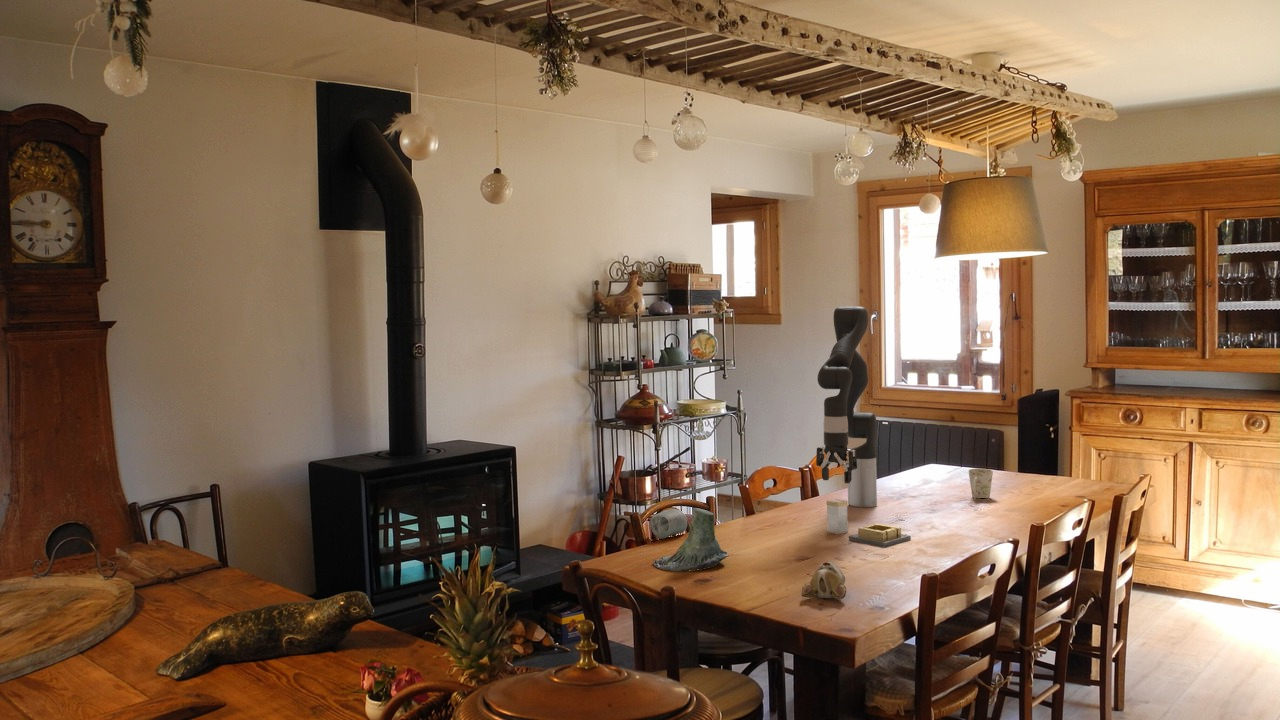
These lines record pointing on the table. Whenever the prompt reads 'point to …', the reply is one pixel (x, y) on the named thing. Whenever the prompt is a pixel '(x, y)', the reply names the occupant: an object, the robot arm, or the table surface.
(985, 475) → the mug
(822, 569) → the ceramic sculpture
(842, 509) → the white upright block
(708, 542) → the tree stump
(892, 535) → the fitting socket
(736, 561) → the table surface
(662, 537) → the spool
